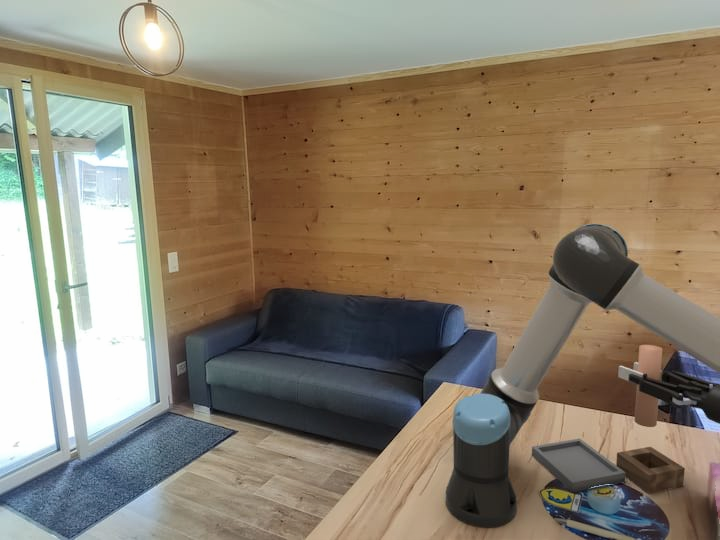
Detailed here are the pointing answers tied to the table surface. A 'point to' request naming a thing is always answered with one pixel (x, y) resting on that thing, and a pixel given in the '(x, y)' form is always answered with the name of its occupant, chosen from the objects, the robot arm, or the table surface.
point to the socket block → (650, 469)
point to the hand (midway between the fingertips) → (627, 369)
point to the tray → (577, 465)
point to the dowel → (652, 367)
